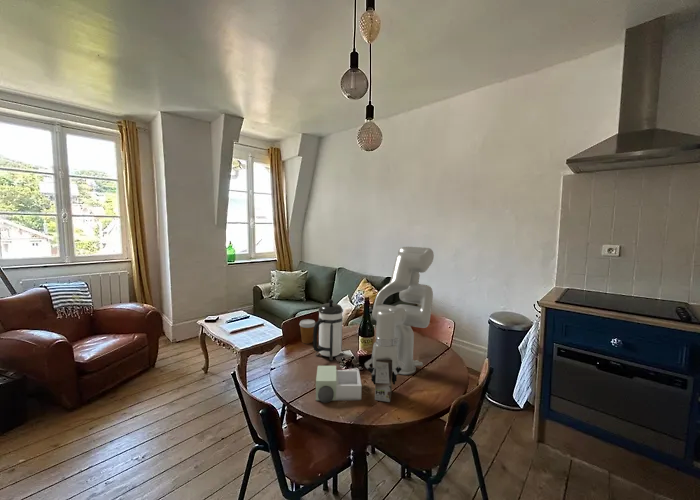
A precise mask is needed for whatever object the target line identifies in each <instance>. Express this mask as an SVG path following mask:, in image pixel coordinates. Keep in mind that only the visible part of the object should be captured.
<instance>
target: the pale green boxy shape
mask: <svg viewBox="0 0 700 500" xmlns="http://www.w3.org/2000/svg"><path fill="white" fill-rule="evenodd" d="M361 400H362V379H361V375H360V370H359V369H344V370H343V369H337V365H317V369H316V377H315V401H320V402H321V403H325V404H328V403H330V402H331V401H361Z"/></svg>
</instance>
